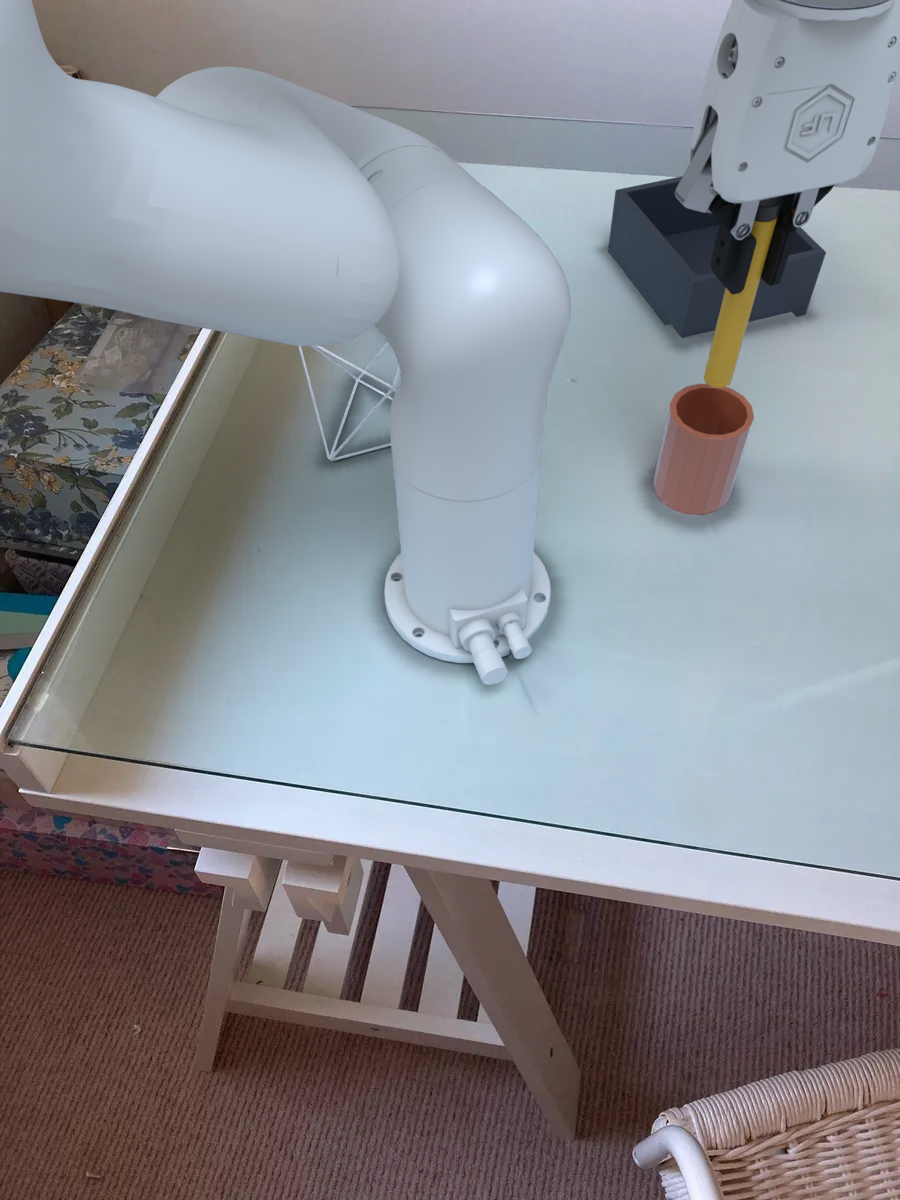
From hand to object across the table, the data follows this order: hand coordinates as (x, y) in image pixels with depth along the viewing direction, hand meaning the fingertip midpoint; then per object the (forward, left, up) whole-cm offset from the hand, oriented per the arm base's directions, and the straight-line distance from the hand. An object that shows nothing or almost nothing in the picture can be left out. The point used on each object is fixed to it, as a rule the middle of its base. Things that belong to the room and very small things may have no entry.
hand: (744, 276), depth 63 cm
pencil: (0, 0, -9) cm, 9 cm away
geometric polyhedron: (+17, +22, -21) cm, 35 cm away
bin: (+26, -15, -21) cm, 37 cm away
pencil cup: (0, 0, -21) cm, 21 cm away
